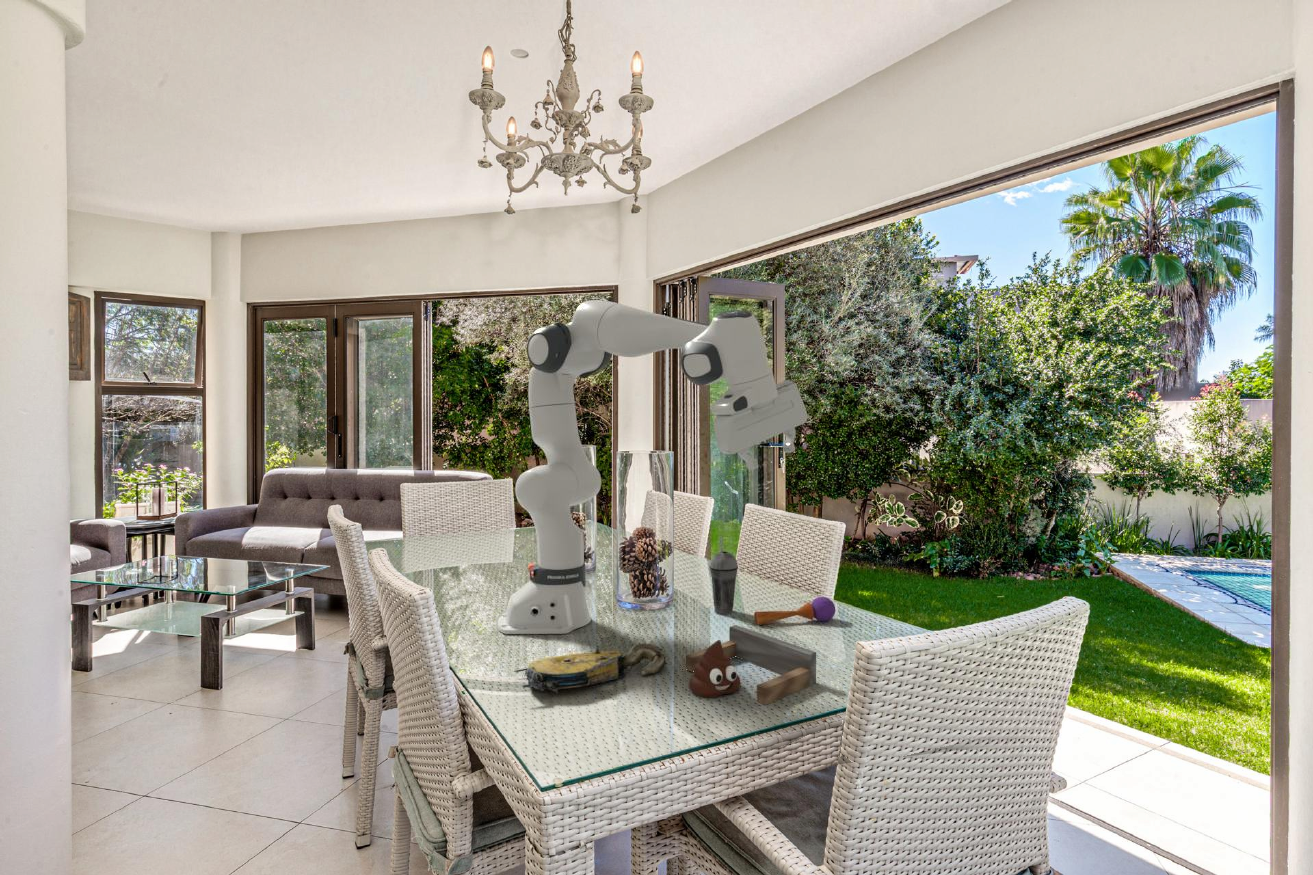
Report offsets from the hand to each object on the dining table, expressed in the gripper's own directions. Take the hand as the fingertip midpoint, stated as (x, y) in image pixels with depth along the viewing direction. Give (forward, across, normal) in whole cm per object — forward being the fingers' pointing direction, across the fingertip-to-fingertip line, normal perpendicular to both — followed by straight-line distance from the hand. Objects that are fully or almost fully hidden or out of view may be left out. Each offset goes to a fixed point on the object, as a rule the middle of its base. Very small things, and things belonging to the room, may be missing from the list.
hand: (771, 460), depth 135 cm
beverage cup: (+44, 0, -38) cm, 58 cm away
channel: (+39, +17, -2) cm, 43 cm away
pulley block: (+31, +43, -15) cm, 55 cm away
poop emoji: (+37, +26, 0) cm, 45 cm away
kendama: (+48, -10, -23) cm, 54 cm away
